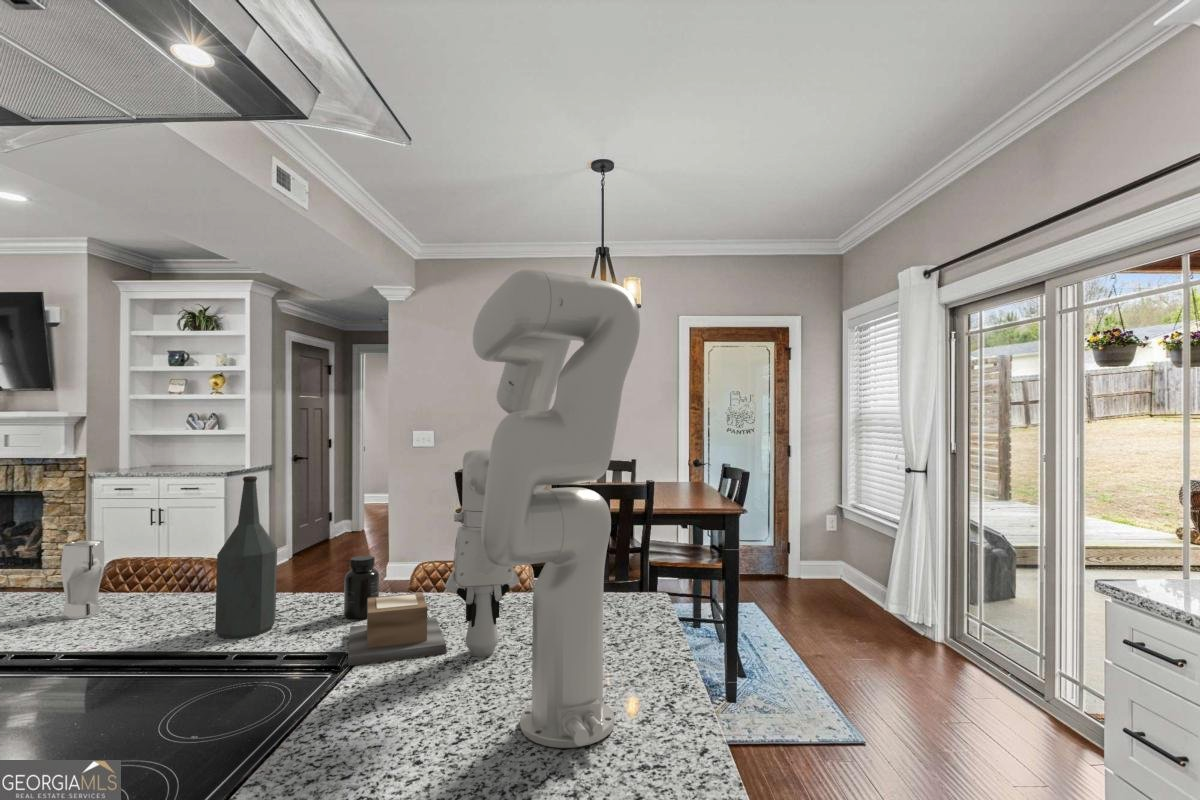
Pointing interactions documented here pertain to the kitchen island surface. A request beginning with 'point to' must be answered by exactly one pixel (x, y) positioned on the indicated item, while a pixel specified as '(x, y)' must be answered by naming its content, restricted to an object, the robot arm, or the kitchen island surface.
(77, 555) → the beer glass
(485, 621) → the salt shaker
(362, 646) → the plinth
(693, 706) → the kitchen island surface
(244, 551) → the bottle
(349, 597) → the supplement bottle
